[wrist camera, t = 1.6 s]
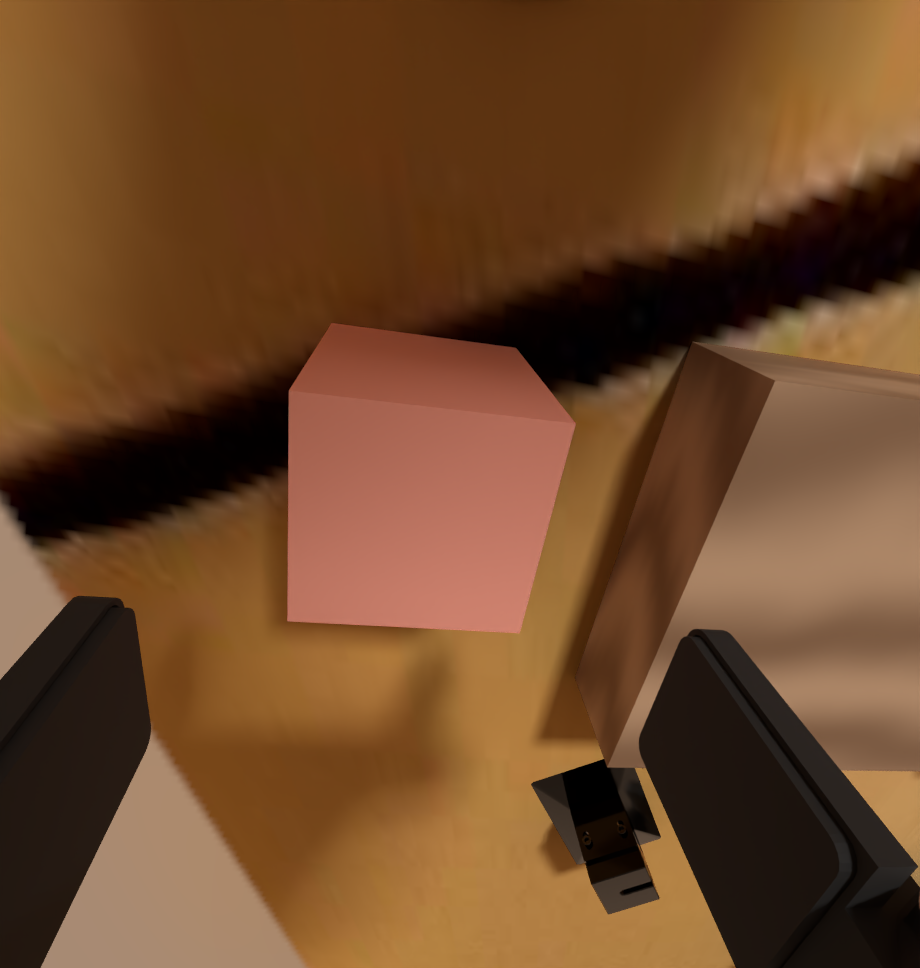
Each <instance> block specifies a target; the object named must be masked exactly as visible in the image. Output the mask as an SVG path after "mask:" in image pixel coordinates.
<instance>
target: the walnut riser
mask: <svg viewBox="0 0 920 968" xmlns="http://www.w3.org/2000/svg"><path fill="white" fill-rule="evenodd" d="M693 629H710V630H724V631H727V632H729V633H730V634H731V635H732V636H733V637H734V638H735V639H736V641H737V642H738V643H739V644H740V646H741V647H742V648H743V649H744V651H745V652H746V653H747V654H748V656H749V657H750V658H751V659H752V661H753V662H754V663H755V664H756V666H757V667H758V668H759V669H760V671H761V672H762V673H763V674H764V676H765V677H766V678H767V679H768V680H769V682H770V683H771V684H772V685H773V687H774V688H775V689H776V690H777V692H778V693H779V694H780V695H781V697H782V698H783V699H784V700H785V702H786V703H787V704H788V705H789V707H790V708H791V709H792V710H793V712H794V713H795V714H796V715H797V717H798V718H799V719H800V720H801V721H802V723H803V724H804V725H805V726H806V728H807V729H808V730H809V731H810V733H811V734H812V735H813V736H814V738H815V739H816V740H817V741H818V743H819V744H820V745H821V746H822V748H823V749H824V750H825V751H826V753H827V754H828V755H829V756H830V758H831V759H832V760H833V761H834V763H835V764H836V765H837V766H838V767H839V769H840V770H854V771H920V375H917V374H911V373H904V372H897V371H890V370H883V369H876V368H869V367H863V366H856V365H849V364H842V363H835V362H828V361H822V360H815V359H808V358H801V357H794V356H787V355H780V354H774V353H767V352H760V351H753V350H746V349H739V348H733V347H726V346H719V345H712V344H705V343H698V342H692V343H691V346H690V349H689V352H688V355H687V358H686V361H685V363H684V366H683V369H682V372H681V375H680V378H679V381H678V383H677V386H676V389H675V392H674V395H673V398H672V401H671V403H670V406H669V409H668V412H667V415H666V418H665V421H664V424H663V426H662V429H661V432H660V435H659V438H658V441H657V444H656V446H655V449H654V452H653V455H652V458H651V461H650V464H649V467H648V469H647V472H646V475H645V478H644V481H643V484H642V487H641V489H640V492H639V495H638V498H637V501H636V504H635V507H634V510H633V512H632V515H631V518H630V521H629V524H628V527H627V530H626V532H625V535H624V538H623V541H622V544H621V547H620V550H619V553H618V555H617V558H616V561H615V564H614V567H613V570H612V573H611V575H610V578H609V581H608V584H607V587H606V590H605V593H604V596H603V598H602V601H601V604H600V607H599V610H598V613H597V616H596V618H595V621H594V624H593V627H592V630H591V633H590V636H589V639H588V641H587V644H586V647H585V650H584V653H583V656H582V659H581V661H580V664H579V667H578V670H577V673H576V676H575V679H576V682H577V685H578V688H579V690H580V693H581V696H582V699H583V701H584V704H585V707H586V710H587V713H588V715H589V718H590V721H591V724H592V726H593V729H594V732H595V735H596V738H597V740H598V743H599V746H600V749H601V751H602V754H603V757H604V760H605V763H606V765H607V767H616V768H646V767H645V764H644V762H643V760H642V758H641V755H640V751H639V737H640V733H641V731H642V729H643V726H644V724H645V722H646V719H647V717H648V715H649V712H650V710H651V708H652V705H653V703H654V700H655V698H656V696H657V693H658V691H659V689H660V686H661V684H662V682H663V679H664V677H665V675H666V672H667V670H668V668H669V665H670V663H671V660H672V658H673V656H674V653H675V651H676V649H677V646H678V644H679V642H680V640H681V639H682V638H683V637H686V636H687V635H688V634H689V632H690V631H692V630H693Z"/></svg>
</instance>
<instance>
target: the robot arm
mask: <svg viewBox="0 0 920 968" xmlns="http://www.w3.org/2000/svg"><path fill="white" fill-rule="evenodd" d="M150 734H151V723H150V716H149V709H148V702H147V695H146V688H145V681H144V674H143V667H142V660H141V653H140V646H139V639H138V632H137V625H136V618H135V613H134V611H133V609H131V608H124V605H123V602H122V601H121V599H119V598H109V597H90V596H77V597H74V598H73V599H72V600H71V601H70V602H69V603H68V604H67V605H66V606H65V607H64V608H63V609H62V611H61V612H60V613H59V614H58V615H57V616H56V617H55V618H54V620H53V621H52V622H51V623H50V624H49V625H48V627H47V628H46V629H45V630H44V631H43V632H42V633H41V634H40V636H39V637H38V638H37V639H36V640H35V641H34V642H33V644H31V646H30V647H29V648H28V649H27V650H26V651H25V652H24V654H23V655H22V656H21V657H20V658H19V659H18V661H17V662H16V663H15V664H14V665H13V666H12V667H11V668H10V670H9V671H8V672H7V673H6V674H5V675H4V676H3V677H2V679H1V680H0V968H41V965H42V963H43V961H44V959H45V957H46V955H47V953H48V951H49V949H50V947H51V945H52V943H53V941H54V939H55V937H56V935H57V933H58V931H59V928H60V926H61V924H62V922H63V920H64V918H65V916H66V914H67V912H68V910H69V908H70V906H71V903H72V901H73V899H74V898H75V896H76V893H77V891H78V889H79V887H80V885H81V883H82V881H83V879H84V877H85V875H86V873H87V871H88V868H89V867H90V864H91V863H92V860H93V858H94V856H95V854H96V852H97V850H98V848H99V846H100V844H101V842H102V840H103V838H104V835H105V834H106V832H107V830H108V828H109V826H110V824H111V821H112V819H113V817H114V815H115V813H116V811H117V809H118V807H119V805H120V803H121V801H122V799H123V797H124V795H125V793H126V791H127V788H128V787H129V784H130V782H131V780H132V778H133V776H134V774H135V772H136V770H137V768H138V766H139V764H140V762H141V760H142V758H143V756H144V753H145V751H146V749H147V746H148V743H149V739H150ZM639 751H640V755H641V758H642V760H643V762H644V764H645V767H646V769H647V771H648V773H649V776H650V778H651V780H652V782H653V784H654V787H655V789H656V791H657V793H658V796H659V798H660V800H661V802H662V804H663V807H664V809H665V811H666V813H667V816H668V818H669V820H670V822H671V824H672V827H673V829H674V831H675V833H676V836H677V838H678V840H679V842H680V844H681V847H682V849H683V851H684V853H685V856H686V858H687V860H688V862H689V864H690V867H691V869H692V871H693V873H694V876H695V878H696V880H697V882H698V884H699V887H700V889H701V891H702V893H703V896H704V898H705V900H706V902H707V904H708V907H709V909H710V911H711V913H712V916H713V918H714V920H715V922H716V924H717V927H718V929H719V931H720V933H721V936H722V938H723V940H724V942H725V944H726V947H727V949H728V951H729V953H730V956H731V958H732V960H733V962H734V964H735V966H736V968H920V887H919V886H918V885H917V883H916V882H915V881H914V879H913V878H912V877H911V876H910V875H911V874H912V873H913V872H914V871H915V869H916V868H917V867H918V866H917V864H916V863H915V862H914V861H913V859H912V858H911V857H910V856H909V854H908V853H907V852H906V851H905V849H904V848H903V847H902V846H901V845H900V843H899V842H898V841H897V840H896V838H895V837H894V836H893V835H892V833H891V832H890V831H889V830H888V828H887V827H886V826H885V825H884V823H883V822H882V821H881V820H880V818H879V817H878V816H877V815H876V813H875V812H874V811H873V810H872V808H871V807H870V806H869V805H868V804H867V802H866V801H865V800H864V799H863V797H862V796H861V795H860V794H859V792H858V791H857V790H856V789H855V787H854V786H853V785H852V784H851V782H850V781H849V780H848V779H847V777H846V776H845V775H844V774H843V772H842V771H841V770H840V769H839V767H838V766H837V765H836V764H835V763H834V761H833V760H832V759H831V758H830V756H829V755H828V754H827V753H826V751H825V750H824V749H823V748H822V746H821V745H820V744H819V743H818V741H817V740H816V739H815V738H814V736H813V735H812V734H811V733H810V731H809V730H808V729H807V728H806V726H805V725H804V724H803V723H802V721H801V720H800V719H799V718H798V717H797V715H796V714H795V713H794V712H793V710H792V709H791V708H790V707H789V705H788V704H787V703H786V702H785V700H784V699H783V698H782V697H781V695H780V694H779V693H778V692H777V690H776V689H775V688H774V687H773V685H772V684H771V683H770V682H769V680H768V679H767V678H766V677H765V676H764V674H763V673H762V672H761V671H760V669H759V668H758V667H757V666H756V664H755V663H754V662H753V661H752V659H751V658H750V657H749V656H748V654H747V653H746V652H745V651H744V649H743V648H742V647H741V646H740V644H739V643H738V642H737V641H736V639H735V638H734V637H733V636H732V635H731V634H730V633H729V632H727V631H724V630H710V629H693V630H692V631H690V632H689V634H688V635H687V636H686V637H683V638H682V639H681V640H680V642H679V644H678V646H677V649H676V651H675V653H674V656H673V658H672V660H671V663H670V665H669V668H668V670H667V672H666V675H665V677H664V679H663V682H662V684H661V686H660V689H659V691H658V693H657V696H656V698H655V700H654V703H653V705H652V708H651V710H650V712H649V715H648V717H647V719H646V722H645V724H644V726H643V729H642V731H641V733H640V737H639Z"/></svg>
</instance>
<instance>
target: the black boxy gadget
mask: <svg viewBox="0 0 920 968" xmlns="http://www.w3.org/2000/svg"><path fill="white" fill-rule="evenodd" d="M531 785H532V787H533V789H534V791H535V792H536V794H537V796H538V797H539V799H540V801H541V803H542V804H543V806H544V808H545V810H546V811H547V813H548V815H549V817H550V818H551V820H552V822H553V824H554V825H555V827H556V829H557V831H558V832H559V834H560V836H561V838H562V839H563V841H564V843H565V844H566V846H567V848H568V850H569V851H570V853H571V855H572V857H573V858H574V860H575V862H576V864H582V863H585V864H586V868H587V871H588V875H589V878H590V882H591V885H592V887H593V888H594V890H595V892H596V894H597V896H598V897H599V899H600V901H601V903H602V904H603V906H604V908H605V910H606V912H607V913H608V914H612V913H615V912H618V911H622V910H625V909H628V908H631V907H635V906H638V905H641V904H645V903H648V902H651V901H654V900H658V899H659V895H658V892H657V890H656V887H655V884H654V882H653V878H652V876H651V873H650V870H649V868H648V865H647V862H646V860H645V857H644V854H643V851H642V849H641V846H640V845H642V844H645V843H648V842H651V841H654V840H657V839H660V838H661V836H660V833H659V831H658V828H657V826H656V823H655V820H654V818H653V815H652V812H651V810H650V807H649V805H648V802H647V799H646V797H645V794H644V791H643V789H642V786H641V784H640V781H639V778H638V776H637V773H636V770H635V768H616V767H607V765H606V763H605V760H604V759H603V760H600V761H597V762H594V763H591V764H588V765H585V766H582V767H578V768H575V769H572V770H569V771H566V772H563V773H560V774H557V775H554V776H551V777H548V778H545V779H542V780H539V781H536V782H533V783H532V784H531Z"/></svg>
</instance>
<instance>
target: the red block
mask: <svg viewBox="0 0 920 968" xmlns="http://www.w3.org/2000/svg"><path fill="white" fill-rule="evenodd" d="M575 425H576V423H575V422H574V421H573V419H572V418H571V417H570V416H569V414H568V413H567V412H566V411H565V409H564V408H563V407H562V406H561V404H560V403H559V402H558V400H557V399H556V398H555V397H554V395H553V394H552V393H551V392H550V390H549V389H548V388H547V387H546V385H545V384H544V383H543V381H542V380H541V379H540V378H539V376H538V375H537V374H536V373H535V371H534V370H533V369H532V368H531V366H530V365H529V364H528V362H527V361H526V360H525V359H524V357H523V356H522V355H521V354H520V352H519V351H518V350H517V349H516V348H513V347H506V346H499V345H491V344H484V343H476V342H469V341H462V340H454V339H447V338H440V337H432V336H425V335H418V334H410V333H403V332H395V331H388V330H381V329H373V328H366V327H359V326H351V325H344V324H336V323H331V325H330V326H329V328H328V329H327V331H326V333H325V334H324V336H323V337H322V339H321V341H320V342H319V344H318V345H317V347H316V348H315V350H314V352H313V353H312V355H311V356H310V358H309V360H308V361H307V363H306V364H305V366H304V367H303V369H302V371H301V372H300V374H299V375H298V377H297V379H296V380H295V382H294V383H293V385H292V386H291V388H290V390H289V453H288V615H287V621H291V622H311V623H330V624H350V625H370V626H390V627H409V628H429V629H449V630H469V631H488V632H508V633H520V630H521V626H522V622H523V619H524V615H525V611H526V608H527V604H528V600H529V596H530V593H531V589H532V585H533V581H534V578H535V574H536V570H537V567H538V563H539V559H540V555H541V552H542V548H543V544H544V541H545V537H546V533H547V529H548V526H549V522H550V518H551V514H552V511H553V507H554V503H555V500H556V496H557V492H558V488H559V485H560V481H561V477H562V473H563V470H564V466H565V462H566V459H567V455H568V451H569V447H570V444H571V440H572V436H573V432H574V429H575Z"/></svg>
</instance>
